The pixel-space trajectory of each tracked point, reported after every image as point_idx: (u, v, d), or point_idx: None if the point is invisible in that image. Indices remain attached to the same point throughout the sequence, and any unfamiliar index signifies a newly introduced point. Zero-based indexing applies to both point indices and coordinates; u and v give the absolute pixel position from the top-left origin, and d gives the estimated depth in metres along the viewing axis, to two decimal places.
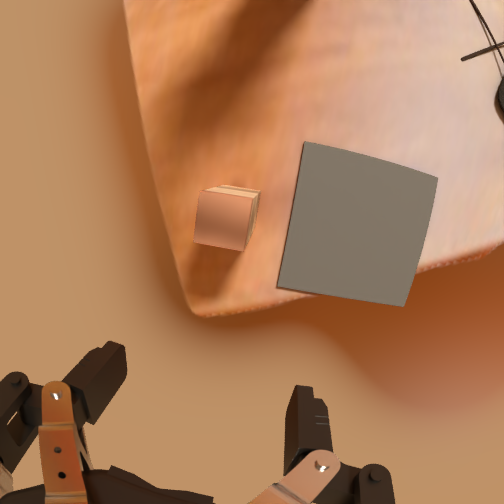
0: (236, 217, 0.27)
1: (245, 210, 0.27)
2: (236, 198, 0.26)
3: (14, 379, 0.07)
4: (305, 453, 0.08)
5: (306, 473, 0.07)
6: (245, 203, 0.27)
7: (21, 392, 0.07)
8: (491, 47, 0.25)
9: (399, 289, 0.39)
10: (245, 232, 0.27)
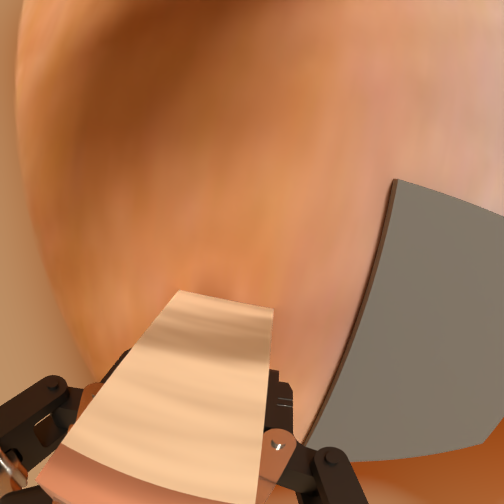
0: None
1: None
2: None
3: (52, 384, 0.08)
4: (264, 432, 0.09)
5: None
6: None
7: (60, 396, 0.08)
8: None
9: (486, 428, 0.16)
10: None
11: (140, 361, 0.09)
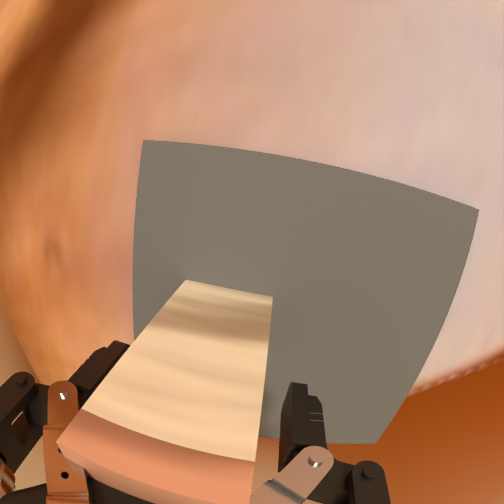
0: None
1: None
2: (186, 497, 0.05)
3: (20, 380, 0.07)
4: (299, 449, 0.08)
5: (299, 469, 0.07)
6: None
7: (27, 392, 0.07)
8: None
9: (369, 424, 0.18)
10: None
11: (152, 339, 0.10)
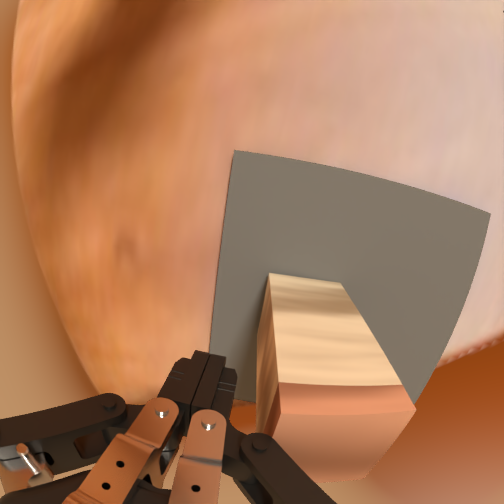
0: (369, 444, 0.08)
1: (394, 430, 0.08)
2: (382, 415, 0.08)
3: (108, 403, 0.08)
4: None
5: (188, 427, 0.08)
6: (399, 419, 0.08)
7: (120, 416, 0.08)
8: None
9: None
10: (378, 458, 0.09)
11: (286, 321, 0.13)
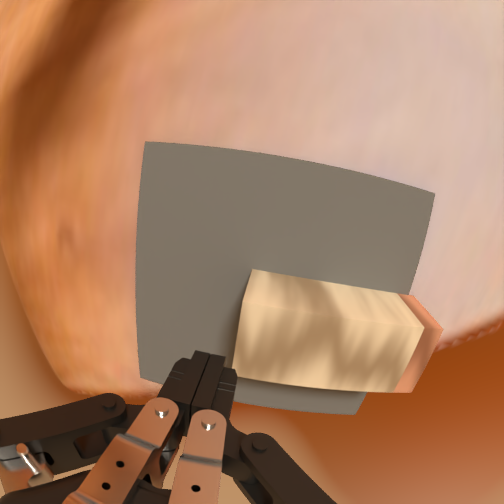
0: None
1: None
2: None
3: (108, 403, 0.08)
4: None
5: (188, 427, 0.08)
6: None
7: (120, 416, 0.08)
8: None
9: (346, 393, 0.22)
10: None
11: (356, 314, 0.15)
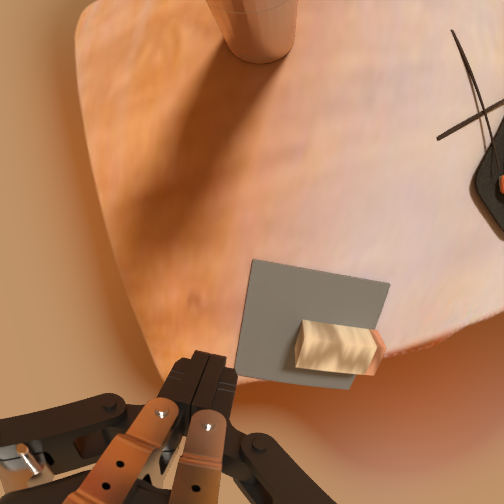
0: None
1: None
2: (379, 335, 0.39)
3: (108, 403, 0.08)
4: None
5: (188, 427, 0.08)
6: None
7: (120, 416, 0.08)
8: (478, 115, 0.29)
9: (344, 377, 0.43)
10: None
11: (347, 341, 0.36)
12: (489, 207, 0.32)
